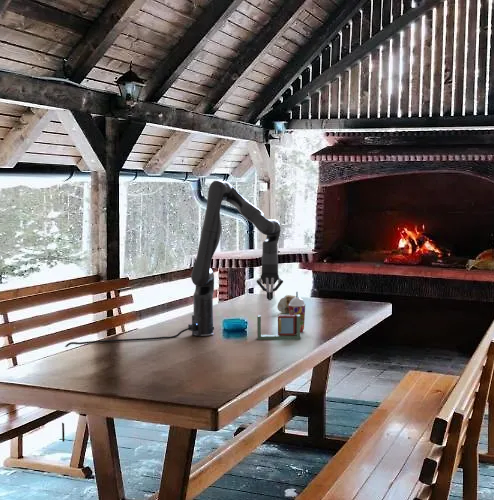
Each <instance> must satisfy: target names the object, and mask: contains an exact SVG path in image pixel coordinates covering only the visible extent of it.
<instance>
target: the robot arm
mask: <svg viewBox="0 0 494 500" xmlns="http://www.w3.org/2000/svg"><path fill="white" fill-rule="evenodd" d="M223 201H224V202H227V203H229V204H230V205H232V206H233V207H235V209H237V211H238V212H239V213H240V215H242V217H243V218H245V220H247V221H249V222H250V223H251V224H253V226H254V227H255V228H256V229H257V230H258V232H259V233H261V234H263V235H265V237H266V238H265V240H263V241H262V246H261V247H262V251H261V252H262V255H261V275H260V278H258V279H256V281H255V282H256V284H257V285H258V286H259V288H260V289H261V290H262V291H263V292H265V293H266V300H268V301H272V300H273V299H274V292H276V291H278V289H279V288H280V287H281V286H282V284H283V283H284V279H282V278H280V275H279V253H278V252H279V251H278V249H279V247H278V245H279V244H278V243H279V240H280V236H281V228H282V227H281V224H280V222H279V221H278V220H277V219H275V218H274V219H273V218H272V219H268V218H266V217H265V214H264V212H263V211H262V210H260V208H258V207H257V206H255V205H254V204H252V203H251V202H250V201H249V200H247V199H246V198H245V197H244V196H243V195H242V194H240V193H239V192H238V191H237V189H236V188H235V187H234V186H233V185H232V184H231V183H230V182H228V181H226V180H219V179H218V180H213V181H212V182H211V183H210V185H209V186H208V191H207V199H206V208H205V212H204V213H205V214H204V219H203V224H202V228H201V232H200V238H199V243H198V248H197V255H196V258H195V261H194V265H193V268H192V271H191V275H190V278H191V281H192V283H193V285H194V286H195V290H194V292H193V295H192V296H193V297H192V299H193V301H192V303H193V314H192V315H191V323H189V324H187V327H186V328H184V329H182V330H181V331H179V332H178V333H177V334H175V335H172V336H171V335H170V336H158V337H157V336H156V337H155V336H154V337H141V338H140V337H139V338H122V339H121V338H120V339H118V338H117V339H103V340H91V341H81V342H77V341H70V342H68V343H67V344H65V346H64V348H67V347H69V346H72V345H87V344H98V343H112V342H113V343H114V342H134V341H135V342H137V341H149V340H150V341H152V340H163V339H164V340H165V339H175V338H177V337H179V336H180V335H181V334H183V333H184V332H186V331H190V332H191V335H192V336H195V337H210V336H213V335H214V330H215V326H214V309H213V308H214V302H213V301H214V299H213V298H214V292H215V273H214V271H213V269H212V268H211V264H212V260H213V257H214V255H215V252H216V250H217V248H218V246H219V243H220V239H221V236H222V230H223V229H222V228H223V225H222V218H221V208H222V207H221V206H222V204H223V203H222V202H223ZM262 282H263V283H264V284H265V286H266V287H265V286H264V284H263V283H262ZM276 283H277V284H276ZM274 285H276V286H275V287H274ZM61 430H62V431H61V435H62V437H61V439H62V440H61V441H62V442H65V423H64V422H61Z"/></svg>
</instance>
